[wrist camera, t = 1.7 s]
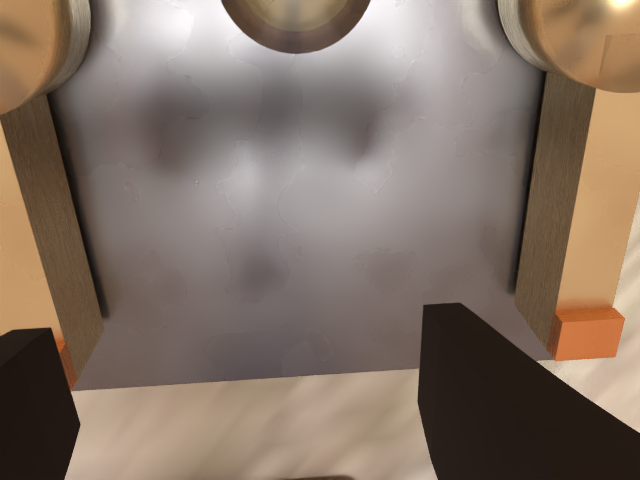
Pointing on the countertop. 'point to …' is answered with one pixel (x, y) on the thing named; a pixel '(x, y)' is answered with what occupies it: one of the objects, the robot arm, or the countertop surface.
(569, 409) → the robot arm
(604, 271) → the knob
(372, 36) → the grey metal plate
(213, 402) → the countertop surface
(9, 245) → the knob
